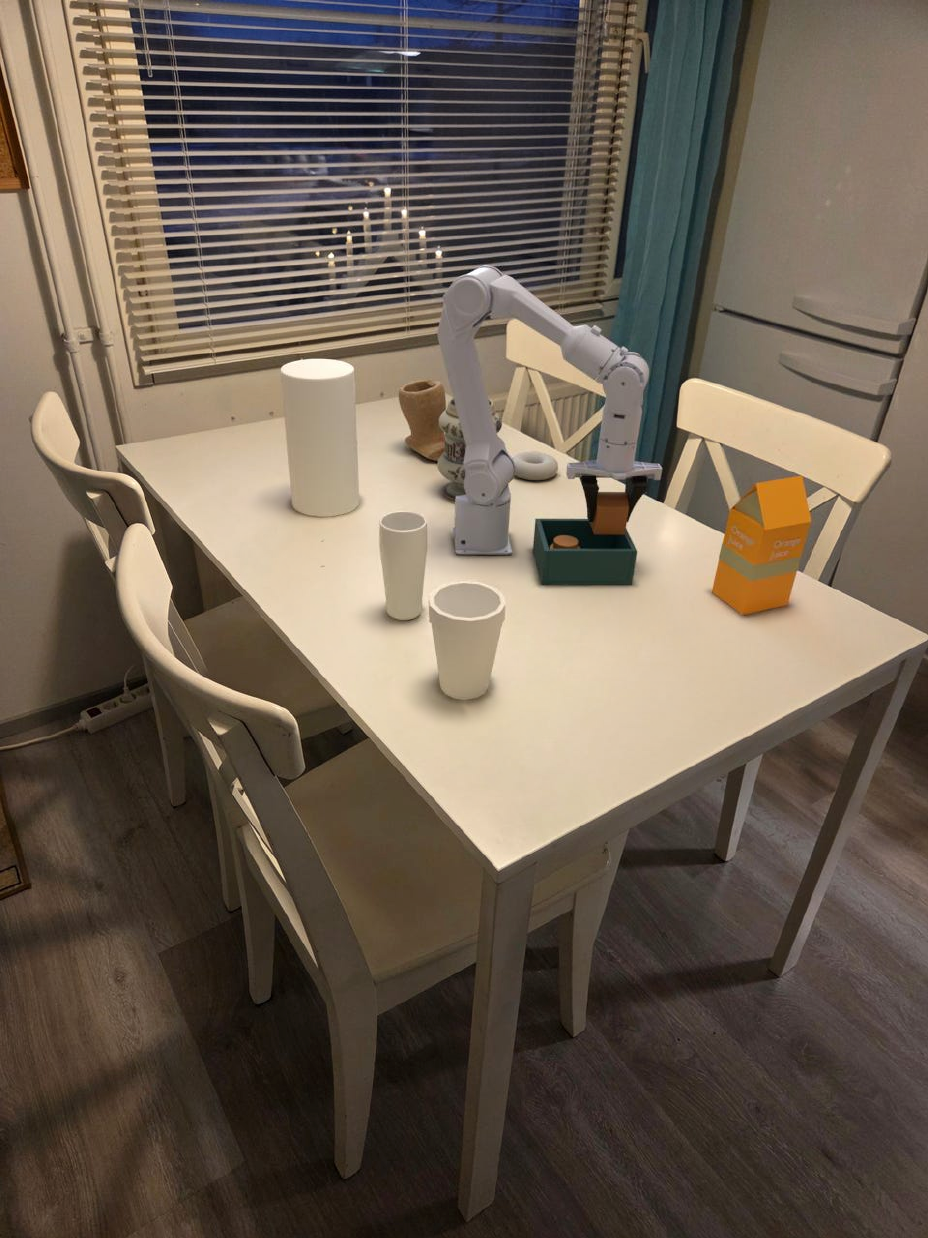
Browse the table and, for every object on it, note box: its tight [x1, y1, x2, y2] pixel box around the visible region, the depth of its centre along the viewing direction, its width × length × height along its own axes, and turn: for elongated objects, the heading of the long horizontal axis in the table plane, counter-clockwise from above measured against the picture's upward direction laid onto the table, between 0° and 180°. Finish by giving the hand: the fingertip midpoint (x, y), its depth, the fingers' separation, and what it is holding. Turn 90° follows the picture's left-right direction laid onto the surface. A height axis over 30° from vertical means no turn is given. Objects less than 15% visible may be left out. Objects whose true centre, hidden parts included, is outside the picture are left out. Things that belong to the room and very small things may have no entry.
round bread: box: [550, 535, 580, 549], centre depth 134 cm, size 5×5×5 cm
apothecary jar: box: [436, 397, 503, 502], centre depth 156 cm, size 12×12×18 cm
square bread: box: [589, 491, 629, 534], centre depth 131 cm, size 5×5×6 cm
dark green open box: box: [532, 518, 638, 586], centre depth 135 cm, size 15×12×6 cm
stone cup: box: [398, 379, 447, 462], centre depth 174 cm, size 15×12×15 cm
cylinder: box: [280, 358, 360, 518], centre depth 148 cm, size 12×12×25 cm
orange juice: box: [711, 475, 812, 616], centre depth 124 cm, size 8×9×20 cm
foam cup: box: [428, 580, 507, 701], centre depth 104 cm, size 10×9×13 cm
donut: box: [512, 451, 559, 481], centre depth 169 cm, size 10×4×10 cm
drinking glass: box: [378, 510, 428, 621], centre depth 119 cm, size 7×7×15 cm
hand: (607, 519), depth 132 cm, fingers closed on square bread, 5 cm apart
